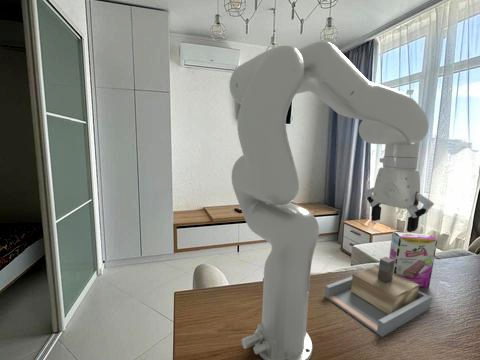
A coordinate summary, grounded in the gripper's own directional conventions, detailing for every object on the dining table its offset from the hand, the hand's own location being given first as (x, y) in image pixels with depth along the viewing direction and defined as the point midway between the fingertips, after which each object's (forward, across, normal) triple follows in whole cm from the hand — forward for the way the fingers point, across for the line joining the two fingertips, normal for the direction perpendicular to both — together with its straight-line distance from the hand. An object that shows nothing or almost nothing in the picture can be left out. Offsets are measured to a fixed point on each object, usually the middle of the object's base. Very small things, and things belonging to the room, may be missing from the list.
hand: (392, 225), depth 69 cm
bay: (+22, 0, -4) cm, 22 cm away
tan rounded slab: (+22, 0, -1) cm, 22 cm away
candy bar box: (+23, -2, +15) cm, 27 cm away
